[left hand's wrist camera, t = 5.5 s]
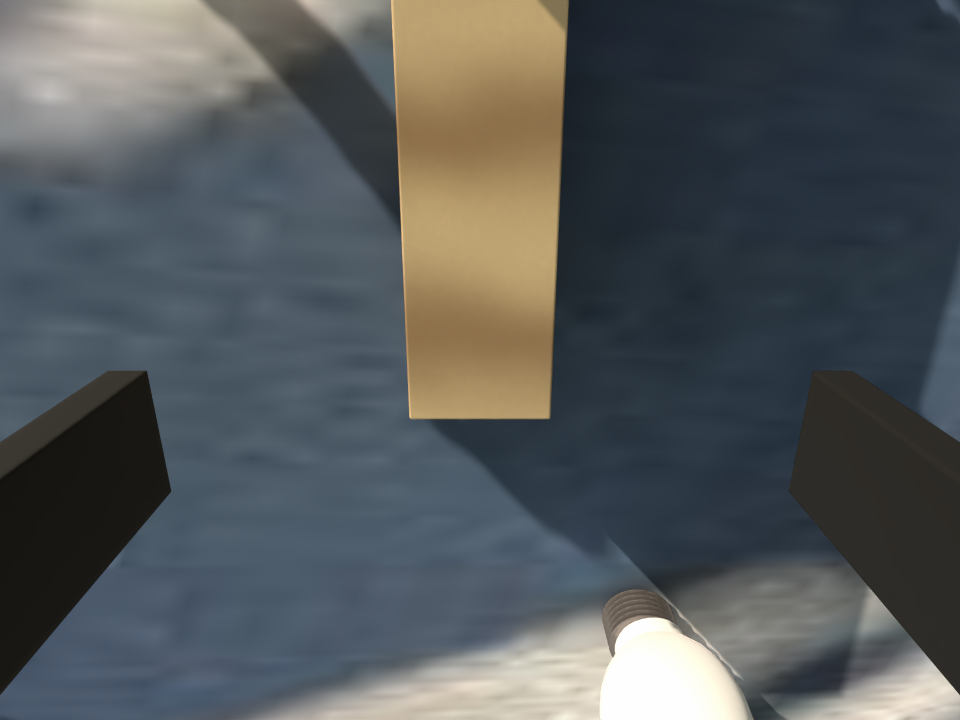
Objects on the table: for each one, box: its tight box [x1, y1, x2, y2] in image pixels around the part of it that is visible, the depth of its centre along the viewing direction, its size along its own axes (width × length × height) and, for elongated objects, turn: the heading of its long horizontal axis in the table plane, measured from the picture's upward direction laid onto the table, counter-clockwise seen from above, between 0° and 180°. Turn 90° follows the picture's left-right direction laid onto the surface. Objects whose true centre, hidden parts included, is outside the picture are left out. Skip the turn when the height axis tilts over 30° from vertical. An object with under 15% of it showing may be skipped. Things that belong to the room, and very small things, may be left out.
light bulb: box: [600, 590, 753, 720], centre depth 30 cm, size 7×7×11 cm
